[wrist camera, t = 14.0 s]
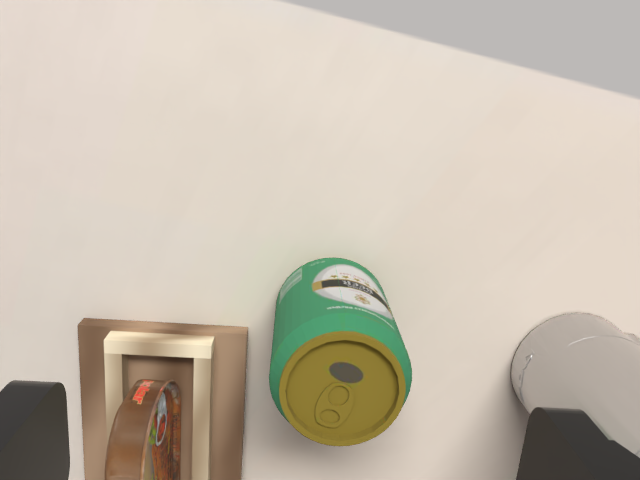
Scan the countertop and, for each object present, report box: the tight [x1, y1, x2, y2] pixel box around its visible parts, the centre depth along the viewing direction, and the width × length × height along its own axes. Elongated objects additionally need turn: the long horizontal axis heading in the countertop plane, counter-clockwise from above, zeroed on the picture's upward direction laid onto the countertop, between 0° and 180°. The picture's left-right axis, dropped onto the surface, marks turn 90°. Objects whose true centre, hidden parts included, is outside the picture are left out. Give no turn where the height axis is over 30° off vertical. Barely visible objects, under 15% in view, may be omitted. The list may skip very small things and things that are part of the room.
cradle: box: [78, 318, 248, 480], centre depth 43 cm, size 12×20×3 cm, turn 176°
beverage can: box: [269, 258, 412, 446], centre depth 36 cm, size 8×8×12 cm
